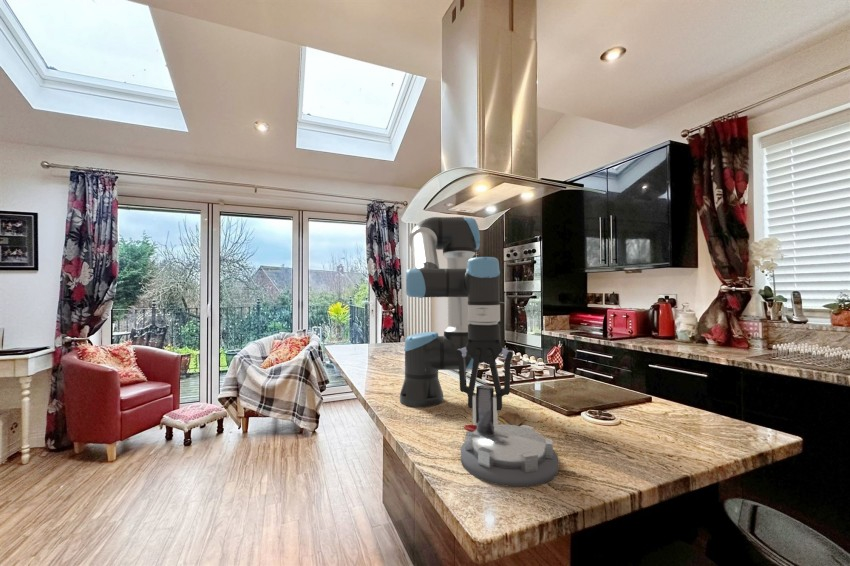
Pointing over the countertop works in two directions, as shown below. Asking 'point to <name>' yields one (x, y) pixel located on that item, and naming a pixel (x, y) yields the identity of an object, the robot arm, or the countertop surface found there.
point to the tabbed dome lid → (505, 439)
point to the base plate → (510, 471)
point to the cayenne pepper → (471, 427)
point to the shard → (511, 418)
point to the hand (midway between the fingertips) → (485, 422)
